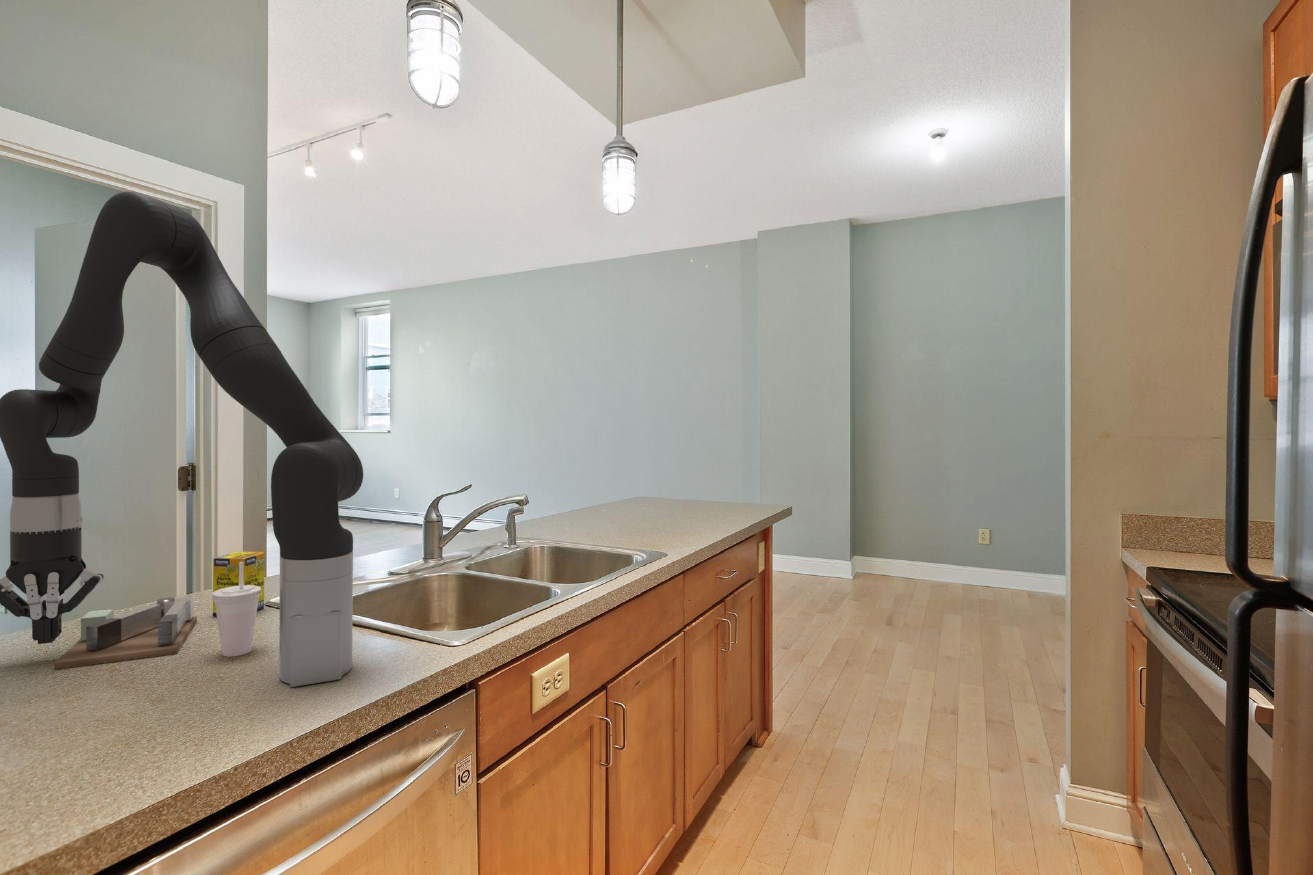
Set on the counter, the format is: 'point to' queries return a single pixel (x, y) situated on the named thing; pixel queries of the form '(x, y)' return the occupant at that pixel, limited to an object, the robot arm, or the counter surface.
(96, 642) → the bar
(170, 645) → the walnut board
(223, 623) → the smoothie
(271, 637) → the counter surface
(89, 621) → the tab
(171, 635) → the fixed jaw
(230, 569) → the supplement box
